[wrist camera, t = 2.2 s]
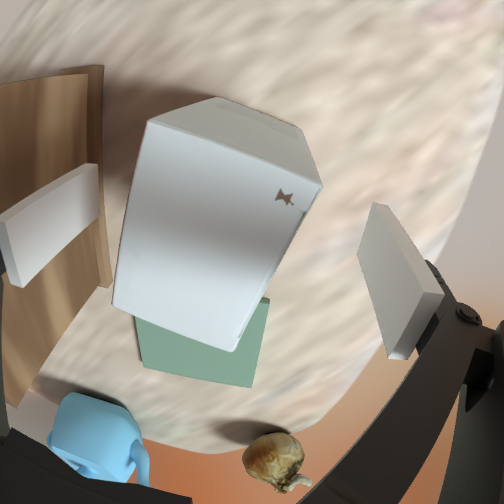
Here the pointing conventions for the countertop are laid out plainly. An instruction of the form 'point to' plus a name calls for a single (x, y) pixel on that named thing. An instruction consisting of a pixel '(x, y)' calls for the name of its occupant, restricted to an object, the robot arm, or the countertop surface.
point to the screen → (29, 181)
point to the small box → (211, 217)
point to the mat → (203, 352)
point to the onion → (276, 461)
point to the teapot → (99, 440)
